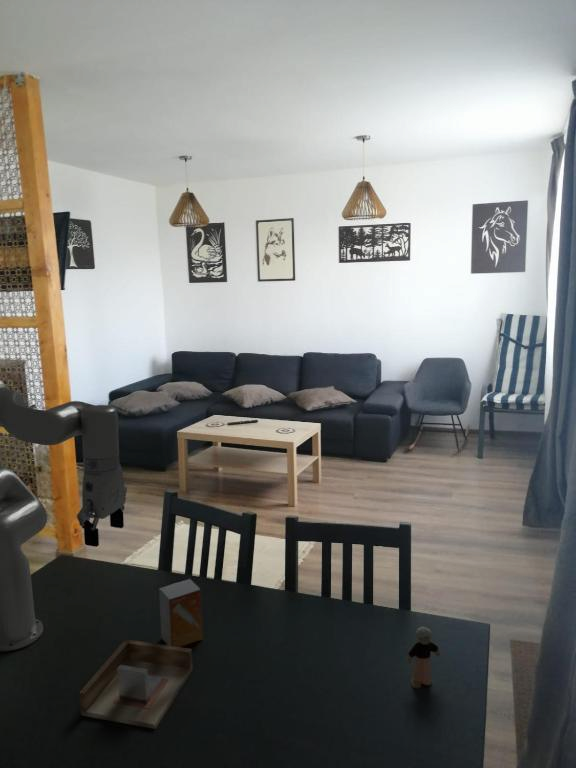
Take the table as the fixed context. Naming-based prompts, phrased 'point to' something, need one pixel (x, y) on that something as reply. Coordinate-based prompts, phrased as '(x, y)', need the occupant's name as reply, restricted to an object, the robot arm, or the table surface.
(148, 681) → the bracket
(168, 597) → the small box
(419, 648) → the grandmother figurine
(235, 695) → the table surface
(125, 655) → the wooden tray
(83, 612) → the table surface
